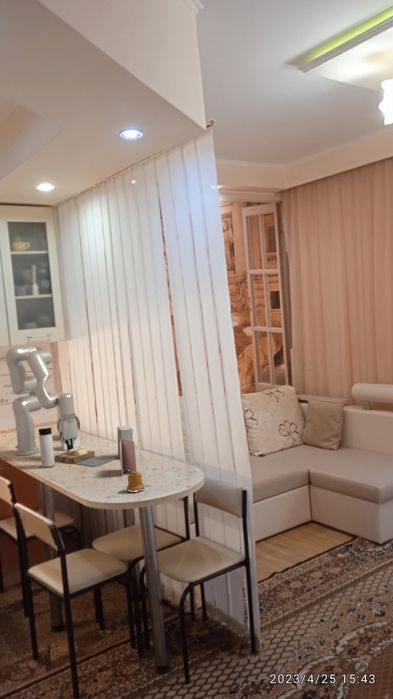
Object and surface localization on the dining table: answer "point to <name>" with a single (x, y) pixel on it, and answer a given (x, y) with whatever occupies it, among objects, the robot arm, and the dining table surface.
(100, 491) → the dining table surface
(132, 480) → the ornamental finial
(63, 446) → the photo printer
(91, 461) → the mat
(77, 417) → the cantaloupe
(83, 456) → the tan flat square block
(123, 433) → the skincare box
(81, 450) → the cream rectangular block
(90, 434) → the dining table surface
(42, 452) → the travel mug
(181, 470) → the dining table surface
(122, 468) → the greeting card
